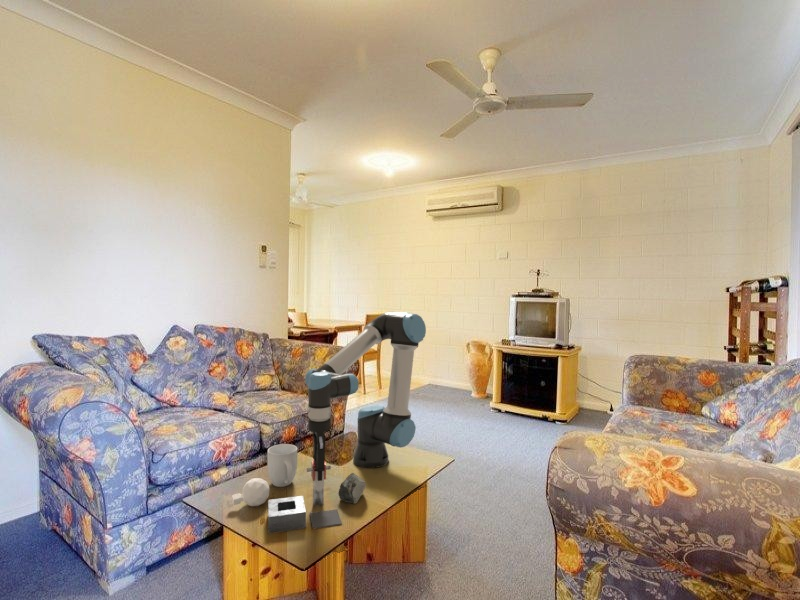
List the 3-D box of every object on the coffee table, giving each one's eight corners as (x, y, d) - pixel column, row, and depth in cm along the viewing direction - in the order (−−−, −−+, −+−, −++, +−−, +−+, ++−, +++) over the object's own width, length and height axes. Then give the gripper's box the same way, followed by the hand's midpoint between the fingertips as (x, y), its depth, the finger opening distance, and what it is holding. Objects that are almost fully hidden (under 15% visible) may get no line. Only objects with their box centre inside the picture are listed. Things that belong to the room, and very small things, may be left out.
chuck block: (302, 510, 143) (302, 495, 143) (305, 528, 133) (305, 512, 133) (268, 515, 140) (268, 499, 140) (268, 533, 130) (268, 517, 129)
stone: (347, 466, 155) (355, 476, 146) (366, 480, 158) (376, 492, 149) (330, 489, 153) (338, 501, 143) (350, 503, 156) (359, 516, 147)
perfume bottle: (266, 489, 154) (231, 501, 148) (265, 468, 151) (229, 480, 145) (273, 506, 147) (236, 519, 141) (272, 485, 144) (234, 498, 138)
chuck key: (329, 498, 152) (329, 459, 151) (330, 504, 147) (331, 464, 147) (305, 501, 149) (306, 461, 149) (307, 507, 145) (307, 466, 145)
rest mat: (337, 510, 144) (337, 509, 144) (341, 524, 135) (341, 523, 135) (309, 514, 141) (309, 512, 141) (312, 528, 133) (312, 527, 133)
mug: (305, 489, 158) (305, 454, 158) (275, 497, 152) (275, 460, 152) (291, 474, 171) (291, 441, 170) (263, 480, 165) (263, 447, 164)
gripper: (305, 411, 155) (305, 476, 155) (310, 426, 138) (309, 498, 139) (326, 410, 157) (326, 473, 158) (334, 425, 140) (333, 496, 141)
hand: (318, 485), depth 148 cm, fingers closed on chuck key, 4 cm apart
